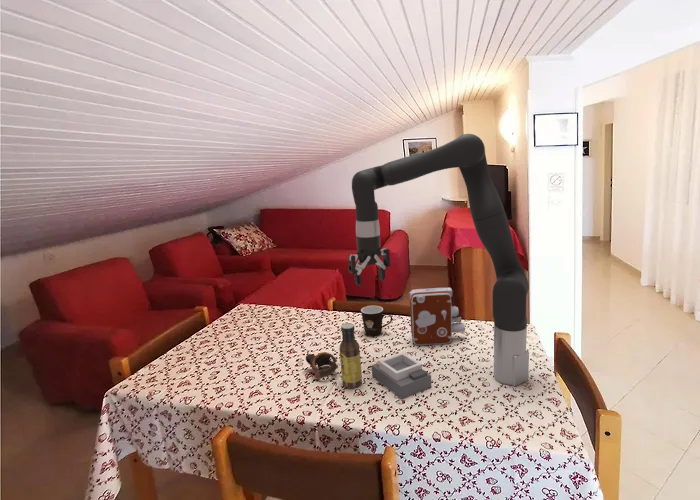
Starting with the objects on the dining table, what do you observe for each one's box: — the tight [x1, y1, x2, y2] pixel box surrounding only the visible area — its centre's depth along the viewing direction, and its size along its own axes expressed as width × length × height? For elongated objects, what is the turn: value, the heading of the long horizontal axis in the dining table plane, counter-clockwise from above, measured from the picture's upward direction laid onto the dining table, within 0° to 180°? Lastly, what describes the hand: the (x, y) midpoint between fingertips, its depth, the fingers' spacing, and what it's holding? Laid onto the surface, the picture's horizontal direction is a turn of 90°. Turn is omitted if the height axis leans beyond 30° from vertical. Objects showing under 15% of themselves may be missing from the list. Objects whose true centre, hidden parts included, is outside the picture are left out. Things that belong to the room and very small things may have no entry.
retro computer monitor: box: [371, 352, 432, 400], centre depth 140 cm, size 16×11×6 cm
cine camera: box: [408, 287, 466, 346], centre depth 164 cm, size 9×19×20 cm, turn 89°
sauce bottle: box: [338, 322, 363, 389], centre depth 139 cm, size 6×6×20 cm
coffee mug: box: [360, 305, 393, 338], centre depth 174 cm, size 12×9×10 cm
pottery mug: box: [305, 351, 339, 381], centre depth 149 cm, size 12×10×8 cm
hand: (370, 282), depth 146 cm, fingers open, 8 cm apart
